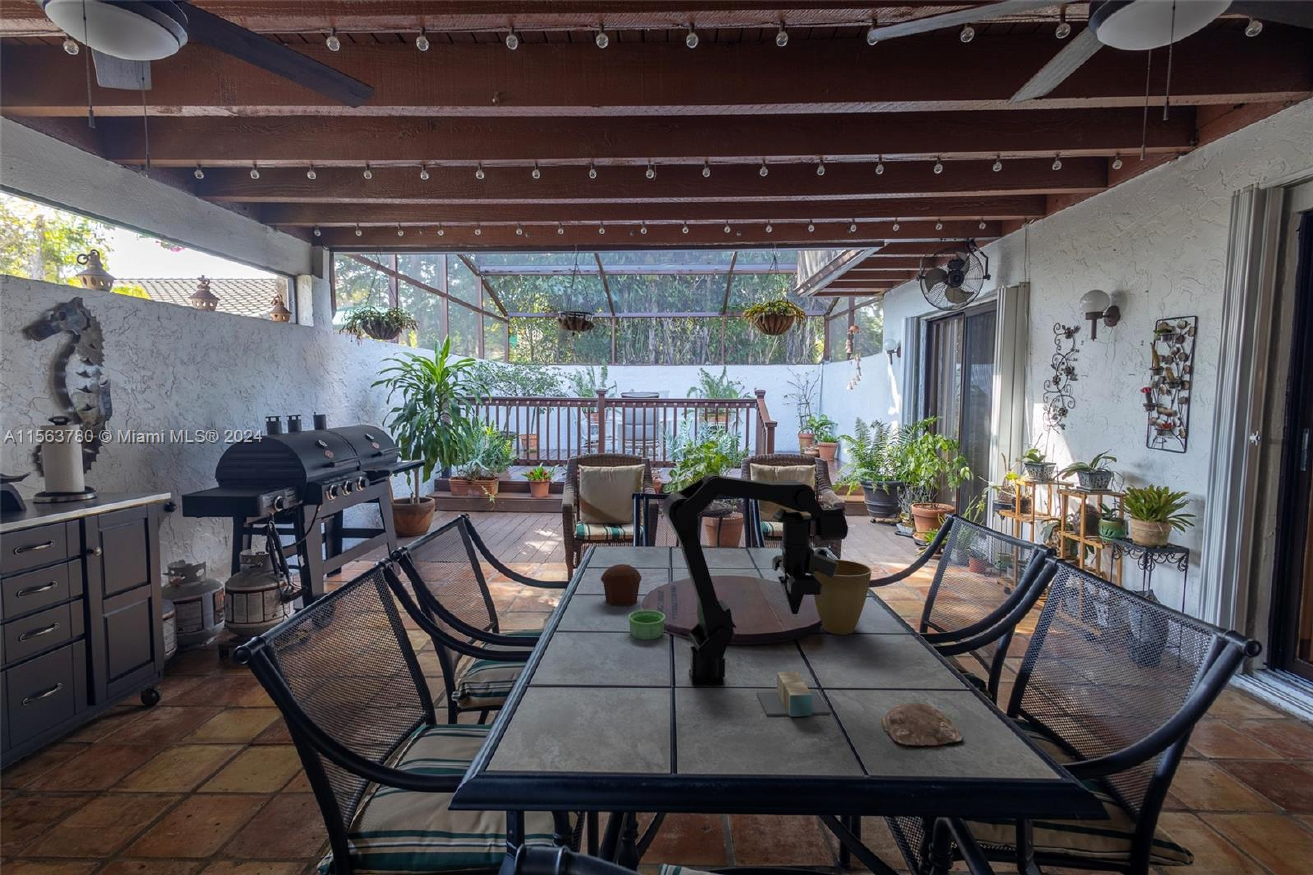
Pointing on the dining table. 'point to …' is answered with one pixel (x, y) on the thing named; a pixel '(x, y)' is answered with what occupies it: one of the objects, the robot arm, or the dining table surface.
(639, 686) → the dining table surface
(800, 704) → the oak block
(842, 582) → the plant pot
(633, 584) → the muffin
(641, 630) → the ramekin
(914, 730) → the shell
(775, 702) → the mat
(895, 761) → the dining table surface
